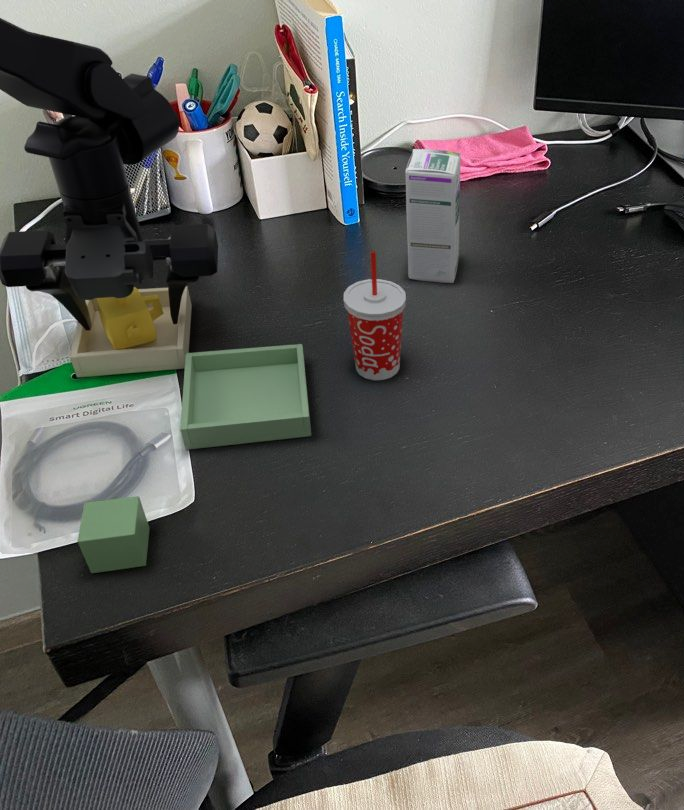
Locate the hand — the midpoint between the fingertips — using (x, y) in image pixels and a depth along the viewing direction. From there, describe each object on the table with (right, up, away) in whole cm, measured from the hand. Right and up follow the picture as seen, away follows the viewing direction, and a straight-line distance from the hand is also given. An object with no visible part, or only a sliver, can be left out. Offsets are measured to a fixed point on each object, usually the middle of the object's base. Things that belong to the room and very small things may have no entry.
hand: (133, 325), depth 84 cm
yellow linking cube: (0, -1, +1) cm, 2 cm away
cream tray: (0, -1, +2) cm, 2 cm away
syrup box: (+29, +8, +17) cm, 35 cm away
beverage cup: (+25, -4, +2) cm, 25 cm away
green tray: (+13, -8, -4) cm, 16 cm away
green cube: (+8, -20, -18) cm, 28 cm away
